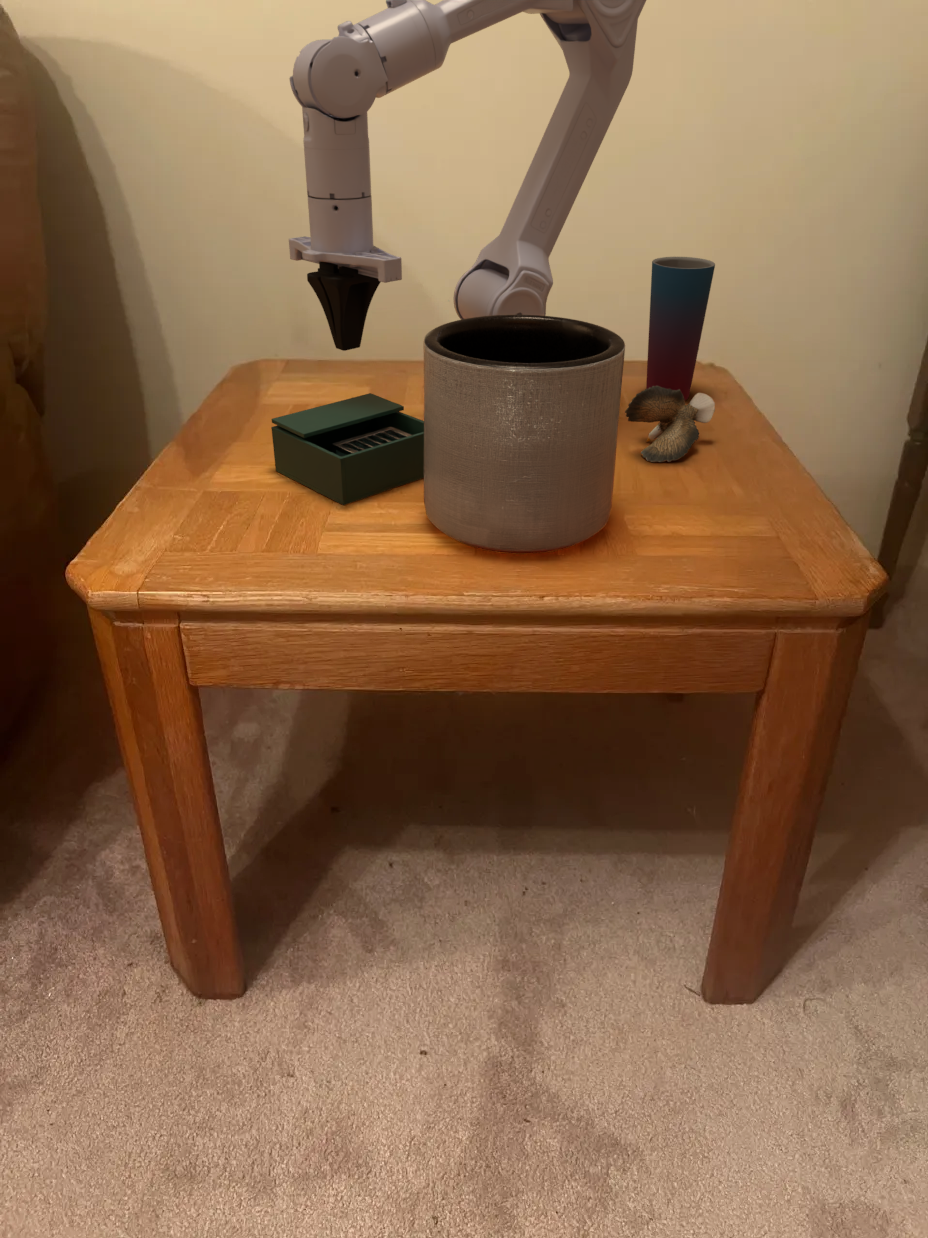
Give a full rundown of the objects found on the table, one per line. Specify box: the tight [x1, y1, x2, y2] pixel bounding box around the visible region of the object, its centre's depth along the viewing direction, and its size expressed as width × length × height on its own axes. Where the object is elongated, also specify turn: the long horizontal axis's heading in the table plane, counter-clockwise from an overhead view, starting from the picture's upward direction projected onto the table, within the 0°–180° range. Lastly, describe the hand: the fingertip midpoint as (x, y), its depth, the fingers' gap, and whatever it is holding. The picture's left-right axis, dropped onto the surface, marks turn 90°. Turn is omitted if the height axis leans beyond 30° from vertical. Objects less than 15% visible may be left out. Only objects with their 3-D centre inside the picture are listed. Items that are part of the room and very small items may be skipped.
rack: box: [332, 427, 411, 457], centre depth 88 cm, size 7×5×3 cm, turn 133°
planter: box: [422, 315, 626, 555], centre depth 78 cm, size 16×16×16 cm
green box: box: [271, 411, 424, 506], centre depth 90 cm, size 11×12×4 cm
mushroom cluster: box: [624, 386, 716, 463], centre depth 96 cm, size 8×7×9 cm
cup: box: [645, 256, 716, 401], centre depth 108 cm, size 7×7×15 cm
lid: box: [271, 392, 405, 438], centre depth 90 cm, size 5×12×1 cm, turn 133°
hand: (348, 347), depth 92 cm, fingers closed
